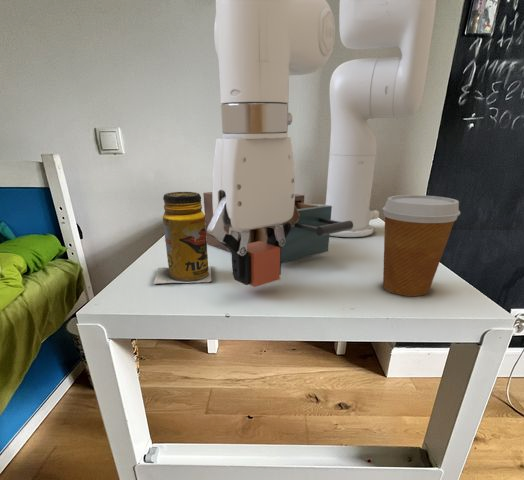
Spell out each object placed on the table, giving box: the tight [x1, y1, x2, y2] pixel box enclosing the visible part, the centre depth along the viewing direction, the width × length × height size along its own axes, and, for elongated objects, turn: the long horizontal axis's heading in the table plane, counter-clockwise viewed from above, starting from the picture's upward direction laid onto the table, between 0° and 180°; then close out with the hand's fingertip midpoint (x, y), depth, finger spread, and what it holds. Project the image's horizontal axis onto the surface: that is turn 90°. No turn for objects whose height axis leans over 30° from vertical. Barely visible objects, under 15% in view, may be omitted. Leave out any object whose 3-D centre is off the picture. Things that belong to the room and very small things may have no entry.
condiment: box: [152, 191, 212, 285], centre depth 57 cm, size 7×8×12 cm
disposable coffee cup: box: [382, 194, 461, 297], centre depth 53 cm, size 10×10×12 cm
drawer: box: [254, 202, 353, 264], centre depth 67 cm, size 20×11×8 cm, turn 39°
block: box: [246, 241, 281, 288], centre depth 52 cm, size 4×4×4 cm
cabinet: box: [202, 191, 305, 253], centre depth 74 cm, size 15×13×10 cm
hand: (257, 276), depth 53 cm, fingers closed on block, 4 cm apart
